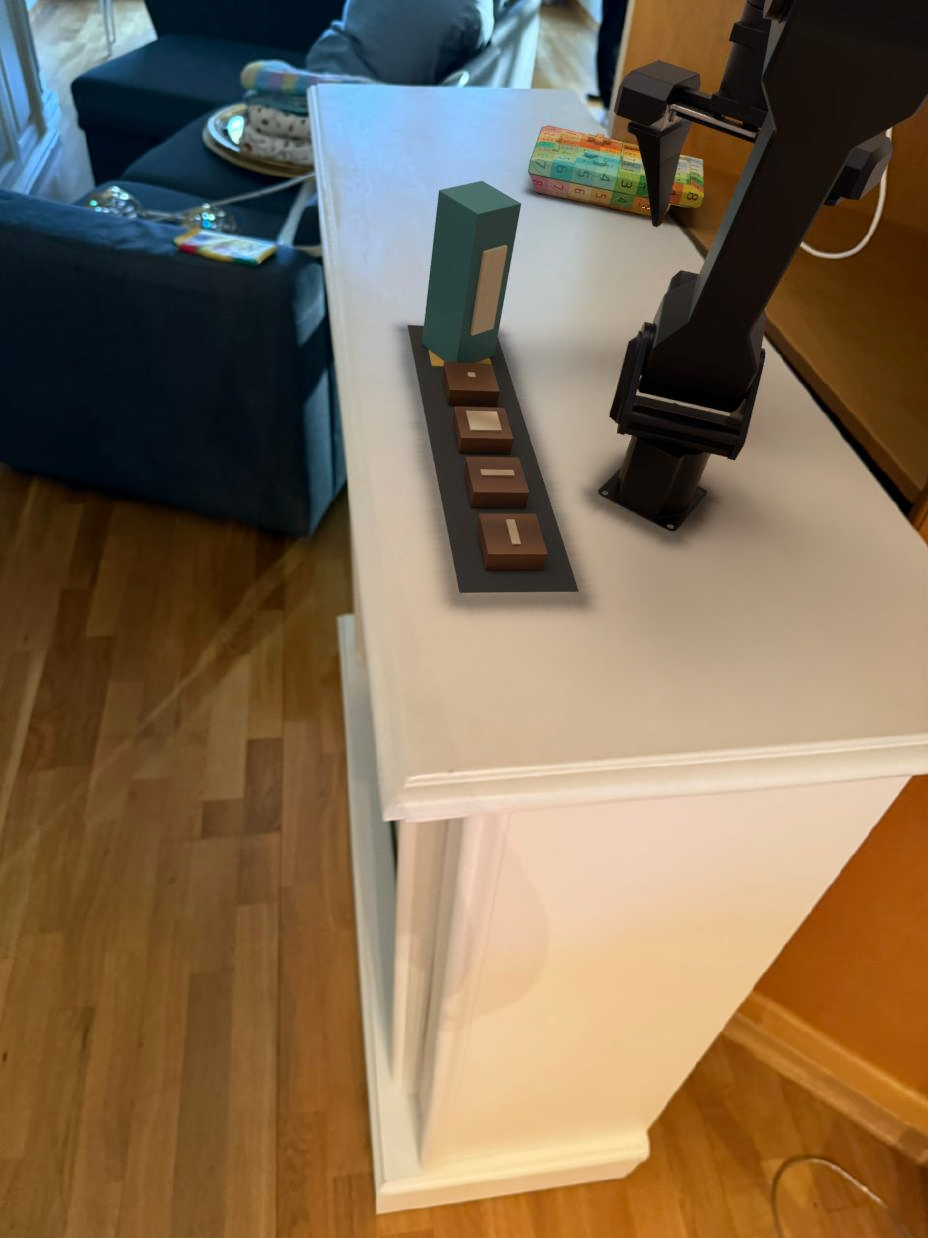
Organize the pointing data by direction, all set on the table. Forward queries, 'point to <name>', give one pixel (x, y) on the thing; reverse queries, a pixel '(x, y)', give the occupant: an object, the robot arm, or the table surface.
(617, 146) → the puzzle game
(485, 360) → the word mat
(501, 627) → the table surface
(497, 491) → the tile
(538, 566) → the tile
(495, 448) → the tile
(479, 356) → the teal tall rectangular block
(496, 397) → the tile
